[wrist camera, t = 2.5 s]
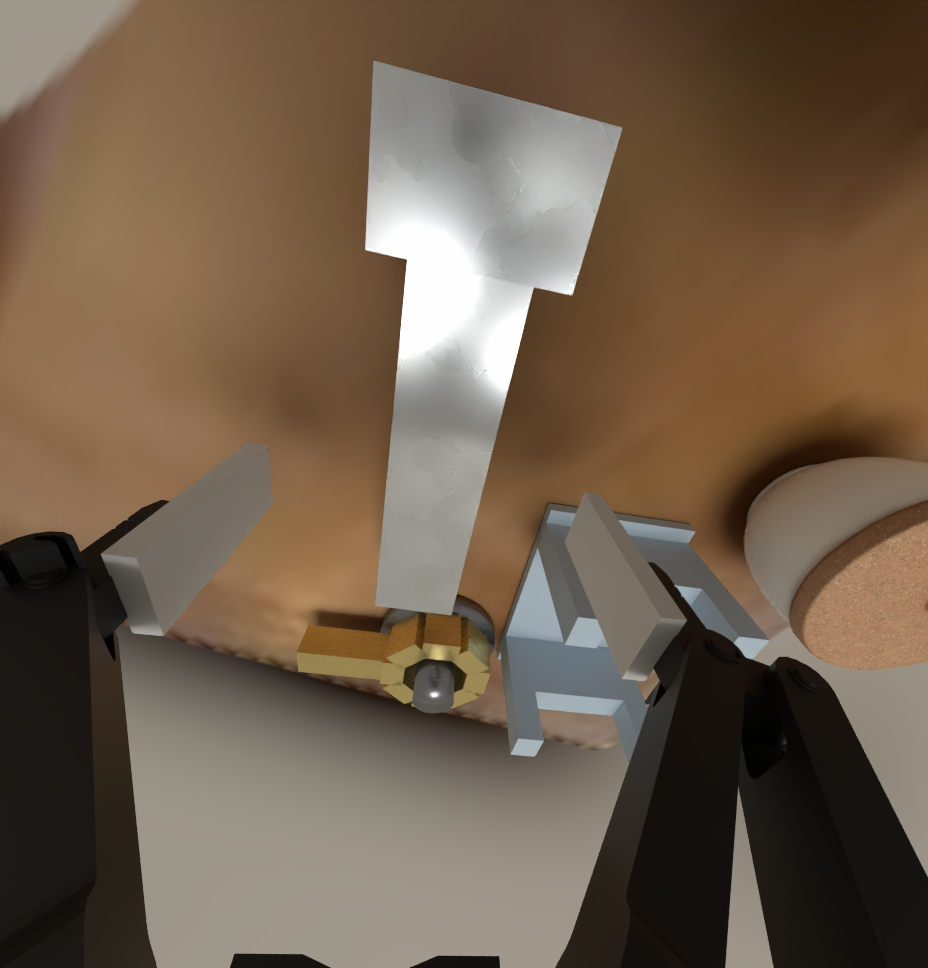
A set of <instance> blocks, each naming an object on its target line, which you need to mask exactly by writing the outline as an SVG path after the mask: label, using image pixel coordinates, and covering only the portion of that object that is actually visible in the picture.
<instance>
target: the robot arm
mask: <svg viewBox="0 0 928 968" xmlns="http://www.w3.org/2000/svg"><path fill="white" fill-rule="evenodd" d="M272 505H273V497H272V487H271V476H270V466H269V456H268V445H262V444H255V443H248V442H247V443H246V444H244V445H243V446H242V447H240V448H239V449H238V450H236V451H235V452H234V453H233V454H231V455H230V456H229V457H227V458H226V459H225V460H223V461H222V462H221V463H219V464H218V465H217V466H215V467H214V468H213V469H212V470H210V471H209V472H208V473H206V474H205V475H204V476H202V477H201V478H200V479H198V480H197V481H196V482H194V483H193V484H192V485H191V486H189V487H188V488H187V489H185V490H184V491H183V492H181V493H180V494H179V495H177V496H176V497H175V498H173V499H172V500H171V501H166V500H160V501H158V502H155V503H153V504H150V505H148V506H146V507H143V508H141V509H140V510H139V511H137V512H136V513H134V514H133V515H132V516H130V517H129V518H128V520H127V521H126V520H125V521H123V522H122V523H120V524H119V525H118V526H116V528H115V529H112V530H111V531H109V532H108V533H106V534H105V535H104V536H102V537H101V538H99V539H98V540H97V541H95V542H94V543H92V544H91V545H90V546H88V547H87V548H85V549H84V550H83V551H81V552H80V551H79V548H78V546H77V544H76V542H75V540H74V538H73V536H72V535H70V534H67V533H64V532H51V531H50V532H42V533H34V534H30V535H26V536H23V537H19V538H16V539H13V540H11V541H9V542H6V543H4V544H2V545H0V968H157V966H156V961H155V958H154V955H153V951H152V948H151V945H150V941H149V936H148V931H147V923H146V914H145V903H144V893H143V883H142V873H141V864H140V853H139V843H138V834H137V825H136V814H135V803H134V793H133V783H132V773H131V763H130V753H129V744H128V733H127V723H126V713H125V703H124V693H123V683H122V673H121V663H120V653H119V643H118V637H117V635H116V633H115V630H116V629H117V628H118V626H119V625H120V624H121V623H122V622H123V621H124V620H125V619H126V618H127V620H128V623H129V625H130V628H131V630H132V632H133V633H136V634H147V635H158V636H164V635H165V634H166V632H167V631H168V630H169V629H170V627H171V626H172V625H173V624H174V623H175V621H176V620H177V619H178V618H179V617H180V615H181V614H182V613H183V612H184V611H185V609H186V608H187V607H188V606H189V605H190V603H191V602H192V601H193V600H194V599H195V597H196V596H197V595H198V594H199V593H200V591H201V590H202V589H203V588H204V587H205V585H206V584H207V583H208V582H209V580H210V579H211V578H212V577H213V576H214V574H215V573H216V572H217V571H218V570H219V568H220V567H221V566H222V565H223V564H224V562H225V561H226V560H227V559H228V558H229V556H230V555H231V554H232V553H233V552H234V550H235V549H236V548H237V547H238V546H239V544H240V543H241V542H242V541H243V539H244V538H245V537H246V536H247V535H248V533H249V532H250V531H251V530H252V529H253V527H254V526H255V525H256V524H257V523H258V521H259V520H260V519H261V518H262V517H263V515H264V514H265V513H266V512H267V511H268V509H269V508H270V507H271V506H272ZM565 544H566V547H567V549H568V552H569V554H570V556H571V559H572V561H573V563H574V566H575V568H576V571H577V573H578V575H579V578H580V580H581V583H582V585H583V587H584V590H585V592H586V595H587V597H588V599H589V602H590V604H591V607H592V609H593V611H594V614H595V616H596V619H597V621H598V623H599V626H600V628H601V631H602V633H603V635H604V638H605V640H606V643H607V645H608V647H609V650H610V652H611V655H612V657H613V659H614V662H615V664H616V667H617V669H618V671H619V674H620V676H621V678H622V679H628V680H639V681H645V680H646V679H647V678H648V676H649V675H650V673H651V672H652V670H653V669H654V670H655V672H656V674H657V676H658V678H659V680H660V681H659V683H658V684H657V685H656V687H655V688H654V690H653V691H652V692H651V694H650V695H649V696H648V698H647V699H646V701H645V703H646V704H647V705H648V704H649V703H650V704H649V707H648V710H647V712H646V715H645V718H644V721H643V724H642V727H641V730H640V733H639V736H638V739H637V742H636V745H635V748H634V751H633V754H632V757H631V760H630V763H629V766H628V769H627V772H626V775H625V778H624V781H623V784H622V787H621V790H620V793H619V796H618V799H617V802H616V805H615V808H614V811H613V814H612V817H611V820H610V823H609V826H608V828H607V831H606V835H605V837H604V841H603V843H602V846H601V850H600V852H599V856H598V858H597V861H596V864H595V867H594V870H593V874H592V876H591V879H590V882H589V885H588V888H587V891H586V894H585V897H584V900H583V903H582V906H581V909H580V912H579V915H578V918H577V921H576V924H575V927H574V930H573V932H572V935H571V938H570V940H569V942H568V945H567V947H566V949H565V951H564V953H563V954H562V956H561V958H560V960H559V961H558V963H557V966H556V968H725V962H726V948H727V934H728V920H729V905H730V892H731V878H732V863H733V849H734V837H735V836H734V835H735V823H736V809H737V794H738V787H739V792H740V797H741V802H742V807H743V812H744V817H745V823H746V827H747V833H748V838H749V843H750V848H751V853H752V859H753V864H754V869H755V874H756V879H757V884H758V889H759V894H760V899H761V905H762V910H763V915H764V920H765V925H766V930H767V936H768V941H769V945H770V951H771V956H772V961H773V966H774V968H928V877H927V875H926V873H925V871H924V869H923V867H922V865H921V863H920V861H919V859H918V857H917V855H916V853H915V851H914V849H913V847H912V845H911V843H910V841H909V839H908V837H907V835H906V833H905V831H904V829H903V827H902V825H901V823H900V822H899V819H898V817H897V815H896V813H895V812H894V810H893V808H892V805H891V803H890V801H889V799H888V798H887V795H886V794H885V792H884V790H883V788H882V786H881V784H880V782H879V780H878V778H877V776H876V774H875V772H874V770H873V768H872V766H871V764H870V762H869V760H868V758H867V756H866V754H865V752H864V750H863V748H862V746H861V744H860V742H859V740H858V738H857V736H856V734H855V732H854V730H853V728H852V726H851V724H850V722H849V720H848V718H847V716H846V714H845V712H844V710H843V708H842V706H841V704H840V702H839V700H838V698H837V696H836V694H835V692H834V691H833V689H832V688H831V686H830V685H829V683H827V682H826V680H825V679H823V678H822V677H821V676H820V674H819V673H817V672H816V671H815V670H813V669H812V668H811V667H809V666H807V665H806V664H803V663H801V662H799V661H797V660H795V659H792V658H789V657H779V658H778V659H777V660H776V661H775V662H774V663H773V664H772V665H771V666H768V665H765V664H762V663H760V662H757V661H754V660H751V659H749V658H746V657H745V656H744V655H743V653H742V652H741V650H740V649H739V648H738V647H737V646H736V645H735V644H734V643H733V642H732V641H731V640H729V639H728V638H726V637H725V636H723V635H722V634H720V633H718V632H715V631H713V630H709V629H706V627H705V626H704V624H703V623H702V622H701V620H700V619H699V617H698V616H697V615H696V613H695V612H694V611H693V609H692V608H691V606H690V605H689V604H688V602H687V601H686V600H685V598H684V597H683V596H681V595H682V594H681V593H680V591H679V590H678V588H677V587H675V584H674V583H673V582H672V580H671V579H670V577H669V576H668V575H667V573H666V572H664V571H663V570H662V569H661V568H660V567H659V566H657V565H656V564H655V563H652V562H647V561H646V559H645V558H644V557H643V555H642V554H641V552H640V551H639V549H638V548H637V546H636V545H635V543H634V542H633V540H632V539H631V538H630V536H629V535H628V533H627V532H626V530H625V529H624V527H623V526H622V524H621V523H620V521H619V520H618V519H617V517H616V516H615V514H614V513H613V511H612V510H611V508H610V507H609V505H608V504H607V502H606V501H605V499H604V498H603V497H602V495H600V494H593V493H587V492H584V494H583V497H582V499H581V502H580V504H579V507H578V510H577V512H576V515H575V517H574V520H573V522H572V525H571V527H570V530H569V532H568V535H567V538H566V540H565ZM499 962H500V961H499V956H436V957H434V958H432V959H429V960H427V961H425V962H422V963H420V964H418V965H415V966H413V967H410V968H500V963H499ZM230 968H330V967H328V966H326V965H324V964H322V963H320V962H318V961H316V960H314V959H312V958H310V957H307V956H305V955H303V954H234V957H233V961H232V963H231V966H230Z"/></svg>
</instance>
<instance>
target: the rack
mask: <svg viewBox="0 0 928 968" xmlns="http://www.w3.org/2000/svg"><path fill="white" fill-rule="evenodd" d="M577 510H578V507H572V506H565V505H558V504H552V503H548V506H547V509H546V512H545V514H544V517H543V520H542V523H541V526H540V529H539V531H538V534H537V537H536V540H535V543H534V546H533V549H532V551H531V554H530V557H529V560H528V563H527V566H526V569H525V571H524V574H523V577H522V580H521V583H520V586H519V588H518V591H517V594H516V597H515V600H514V603H513V606H512V608H511V611H510V614H509V617H508V620H507V623H506V626H505V628H504V631H503V634H502V637H501V640H500V643H499V645H498V648H497V659H500V660H501V664H502V674H503V684H504V694H505V704H506V714H507V724H508V734H509V744H510V754H512V755H523V756H535V755H536V754H537V751H538V750H539V748H540V746H541V745H542V743H543V741H544V739H543V734H542V728H541V722H540V716H539V711H538V709H547V710H557V711H568V712H578V713H588V714H599V715H609V716H613V718H614V720H615V723H616V726H617V729H618V732H619V735H620V738H621V741H622V744H623V747H624V750H625V753H626V756H627V759H628V762H629V763H630V760H631V757H632V754H633V751H634V748H635V745H636V742H637V739H638V736H639V733H640V730H641V727H642V724H643V721H644V718H645V715H646V712H647V710H648V708H647V706H646V703H645V701H644V699H643V696H642V694H641V692H640V689H639V687H638V685H637V682H636V680H628V679H622V678H621V676H620V674H619V671H618V669H617V667H616V664H615V662H614V659H613V657H612V655H611V652H610V650H609V647H608V645H607V643H606V640H605V638H604V635H603V633H602V631H601V628H600V626H599V623H598V621H597V619H596V616H595V614H594V611H593V609H592V607H591V604H590V602H589V599H588V597H587V595H586V592H585V590H584V587H583V585H582V583H581V580H580V578H579V575H578V573H577V571H576V568H575V566H574V563H573V561H572V559H571V556H570V554H569V552H568V549H567V547H566V544H565V540H566V538H567V535H568V532H569V530H570V527H571V525H572V522H573V520H574V517H575V515H576V512H577ZM614 514H615V516H616V517H617V519H618V520H619V521H620V523H621V524H622V526H623V527H624V529H625V530H626V532H627V533H628V535H629V536H630V538H631V539H632V540H633V542H634V543H635V545H636V546H637V548H638V549H639V551H640V552H641V554H642V555H643V557H644V558H645V559H646V561H647V562H652V563H655V564H656V565H657V566H659V567H660V568H661V569H662V570H663V571H664V572H666V573H667V575H668V576H669V577H670V579H671V580H672V582H673V583H674V584H675V587H677V588H678V590H679V591H680V593H681V594H682V595H681V596H683V597H684V598H685V600H686V601H687V602H688V604H689V605H690V606H691V608H692V609H693V611H694V612H695V613H696V615H697V616H698V617H699V619H700V620H701V622H702V623H703V624H704V626H705V627H706V629H709V630H713V631H715V632H718V633H720V634H722V635H723V636H725V637H726V638H728V639H729V640H731V641H732V642H733V643H734V644H735V645H736V646H737V647H738V648H739V649H740V650H741V652H742V653H743V655H744V656H745V657H746V658H749V659H751V660H752V659H753V658H754V657H755V656H756V654H757V653H758V652H759V651H760V650H761V649H762V648H763V647H764V646H765V645H766V644H767V643H768V642H769V641H770V640H769V639H768V638H767V637H766V635H765V634H764V633H763V632H762V631H761V629H760V628H759V627H758V626H757V625H756V623H755V622H754V621H753V620H752V619H751V618H750V616H749V615H748V614H747V613H746V612H745V610H744V609H743V608H742V607H741V606H740V605H739V603H738V602H737V601H736V600H735V599H734V597H733V596H732V595H731V594H730V593H729V591H728V590H727V589H726V588H725V587H724V586H723V584H722V583H721V582H720V581H719V580H718V578H717V577H716V576H715V575H714V574H713V572H712V571H711V570H710V569H709V568H708V567H707V565H706V564H705V563H704V562H703V561H702V559H701V558H700V557H699V556H698V555H697V553H696V552H695V551H694V550H693V549H692V548H691V546H690V545H689V544H688V543H689V542H690V540H691V538H692V537H693V535H694V534H695V532H696V531H695V530H694V529H693V528H692V527H691V526H690V525H689V524H685V523H678V522H672V521H665V520H658V519H652V518H645V517H638V516H632V515H625V514H618V513H614Z"/></svg>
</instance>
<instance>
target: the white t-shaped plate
mask: <svg viewBox="0 0 928 968" xmlns="http://www.w3.org/2000/svg"><path fill="white" fill-rule="evenodd" d="M621 132H622V127H619V126H615V125H611V124H608V123H604V122H600V121H596V120H593V119H589V118H585V117H582V116H578V115H574V114H570V113H567V112H563V111H559V110H556V109H552V108H548V107H545V106H541V105H537V104H533V103H530V102H526V101H522V100H519V99H515V98H511V97H507V96H504V95H500V94H496V93H493V92H489V91H485V90H481V89H478V88H474V87H470V86H467V85H463V84H459V83H455V82H452V81H448V80H444V79H441V78H437V77H433V76H429V75H426V74H422V73H418V72H415V71H411V70H407V69H404V68H400V67H396V66H392V65H389V64H385V63H381V62H378V61H374V60H373V82H372V106H371V129H370V152H369V175H368V198H367V222H366V245H365V250H367V251H371V252H374V253H378V254H382V255H386V256H389V257H393V258H398V259H403V260H407V268H406V279H405V290H404V300H403V311H402V322H401V333H400V343H399V354H398V365H397V375H396V386H395V397H394V408H393V418H392V429H391V440H390V451H389V461H388V472H387V483H386V493H385V504H384V515H383V526H382V536H381V547H380V558H379V568H378V579H377V590H376V601H375V606H381V607H389V608H397V609H404V610H412V611H420V612H428V613H436V614H444V615H452V611H453V607H454V603H455V599H456V595H457V591H458V587H459V583H460V579H461V575H462V571H463V567H464V563H465V559H466V555H467V551H468V547H469V543H470V539H471V535H472V531H473V527H474V523H475V519H476V515H477V511H478V507H479V503H480V499H481V495H482V491H483V487H484V483H485V479H486V475H487V471H488V467H489V463H490V459H491V455H492V451H493V447H494V443H495V439H496V435H497V431H498V427H499V423H500V420H501V416H502V412H503V408H504V404H505V400H506V396H507V392H508V388H509V384H510V380H511V376H512V372H513V368H514V364H515V360H516V356H517V352H518V348H519V344H520V340H521V336H522V332H523V328H524V324H525V320H526V316H527V312H528V308H529V304H530V300H531V296H532V292H533V288H535V289H539V290H544V291H550V292H555V293H561V294H567V295H572V294H573V291H574V288H575V285H576V281H577V278H578V275H579V271H580V268H581V265H582V261H583V258H584V255H585V251H586V248H587V245H588V241H589V238H590V235H591V231H592V228H593V225H594V221H595V218H596V215H597V211H598V208H599V205H600V201H601V198H602V195H603V191H604V188H605V185H606V182H607V178H608V175H609V172H610V168H611V165H612V162H613V158H614V155H615V152H616V148H617V145H618V142H619V138H620V135H621Z"/></svg>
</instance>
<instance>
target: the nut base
mask: <svg viewBox="0 0 928 968" xmlns="http://www.w3.org/2000/svg"><path fill="white" fill-rule="evenodd" d="M417 613H420V614H421V615H422V616H423V617H425V618H426V613H427V612H420V611H412V610H404V609H397V608H390V609H389V611H388V612H387V613H386V615H385V617H384V619H383V622H382V626H381V631H380V633H385V634H388V632H389V630H391V631H392V626H393V625H395V624H397V623H399V622H401V621H403V620H405V619H407V618H409V617H411V616H413V615H415V614H417ZM452 614H455V615H461V621H463V620H465V619H467V618H468V619H469V620H470V621H471V622H472V623H473V624H474V625H475V626H476V627H478V628H479V629H480V630H481V631H482V632H483V633H484V634H485V635H486V636H487V641H488V646H489V656H490V655H491V653H492V651H493V648H494V642H495V639H494V628H493V623H492V620H491V618H490V616H489V615H488V613H487V612H486V611H485V610H484V609H483V608H482V607H481V606H480V605H478V604H477V603H475V602H474V601H472V600H470V599H468V598H465V597H462V596H459V595H456V599H455V603H454V607H453V611H452ZM454 666H455V663H453V662H452V661H444V660H434V659H424V660H421V661H419V662H417V665H416V673H415V681H414V690H413V698H412V703H413V705H414V706H415V707H416V708H417V709H418V710H421V711H423V712H427V713H441V712H444V711H447V710H449V709H450V708H451V707H452V706H453V704H454Z"/></svg>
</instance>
